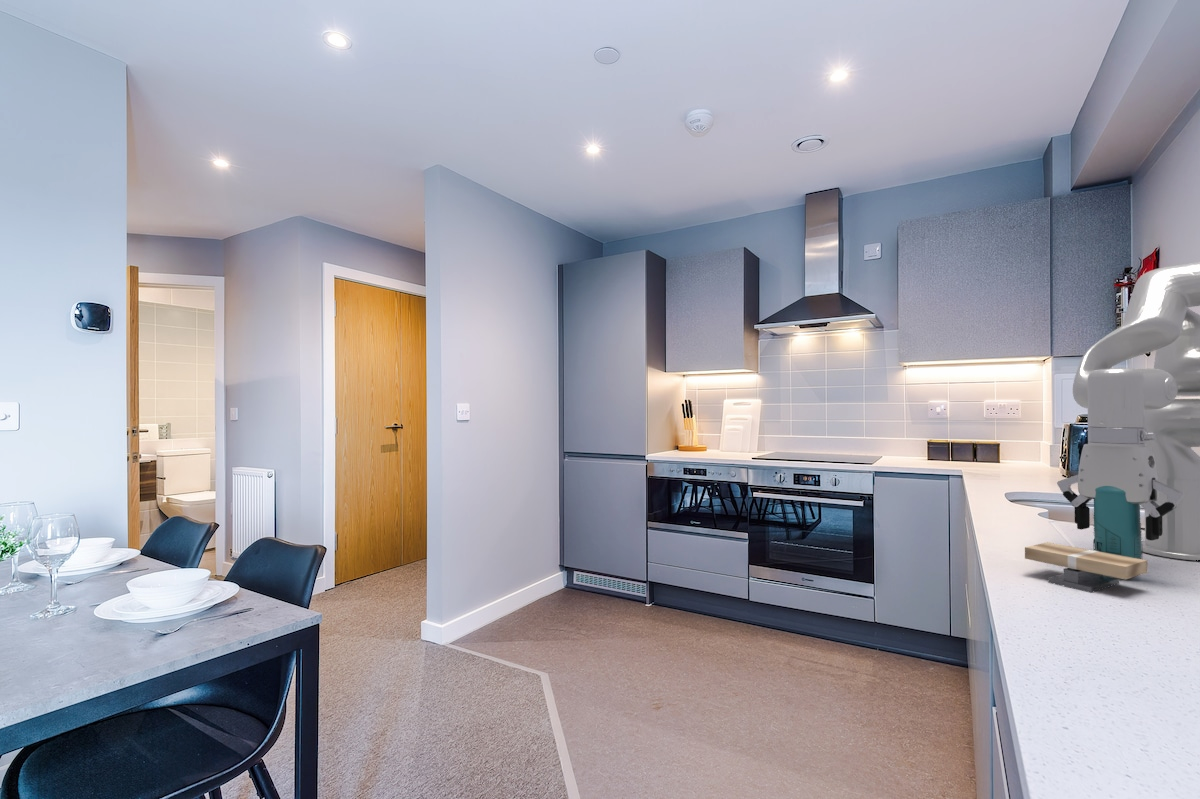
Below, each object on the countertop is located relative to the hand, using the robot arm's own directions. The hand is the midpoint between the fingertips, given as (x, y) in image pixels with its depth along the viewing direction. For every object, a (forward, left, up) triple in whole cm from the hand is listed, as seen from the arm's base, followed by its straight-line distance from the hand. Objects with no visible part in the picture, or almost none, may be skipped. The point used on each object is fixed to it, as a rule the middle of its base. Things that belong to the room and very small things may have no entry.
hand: (1116, 533), depth 101 cm
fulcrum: (+10, -1, -8) cm, 12 cm away
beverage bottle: (0, 0, -8) cm, 8 cm away
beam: (+10, -1, -5) cm, 11 cm away
